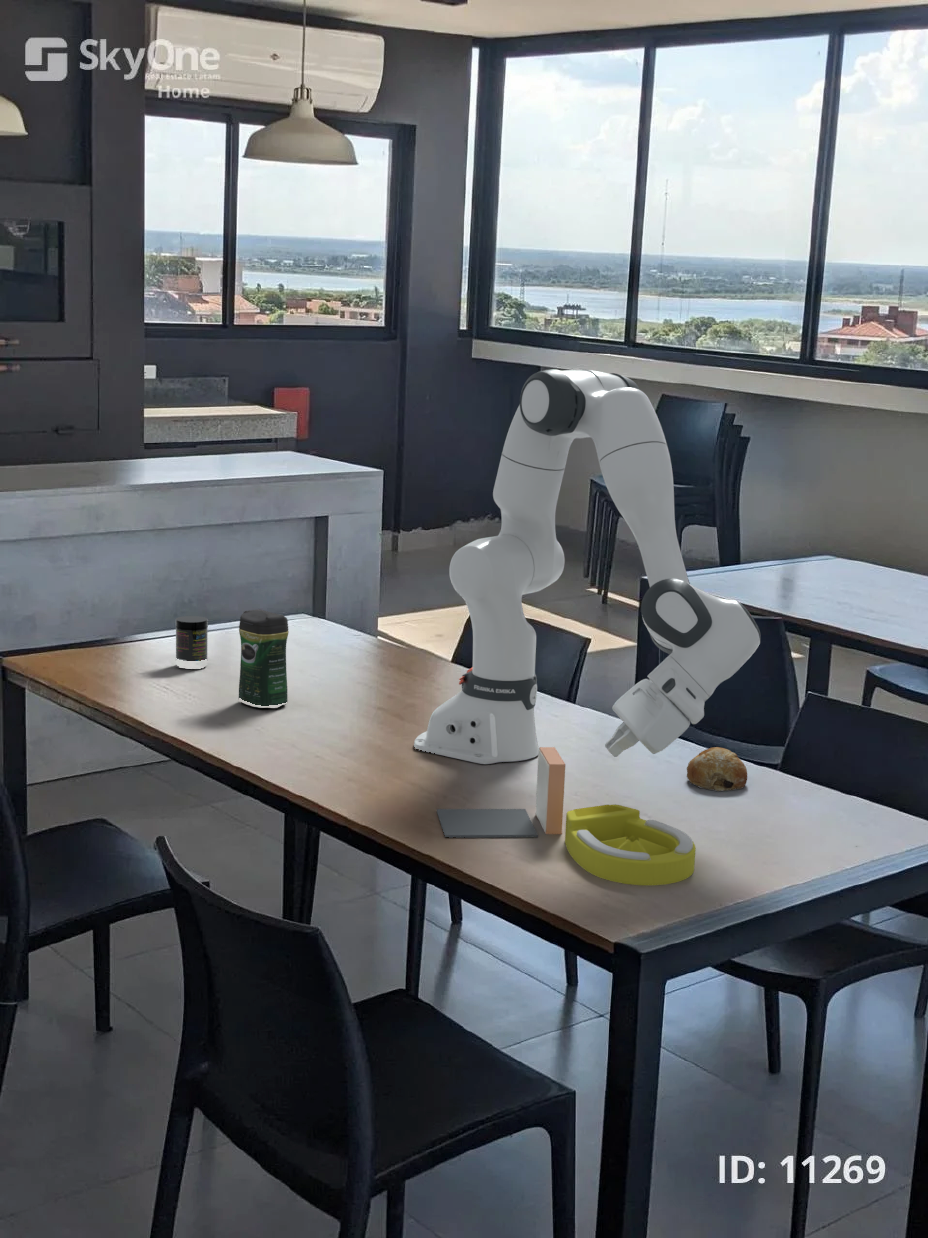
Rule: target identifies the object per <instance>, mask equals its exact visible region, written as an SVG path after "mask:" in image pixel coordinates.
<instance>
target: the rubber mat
mask: <svg viewBox="0 0 928 1238" xmlns="http://www.w3.org/2000/svg"><path fill="white" fill-rule="evenodd" d="M436 814H437V816H438V820H439V823H440V826H441V830H442V829H443V830H442V832H444V833H443V836H444V835H445V836H444V838H445V837H449V838H448V839H451V838H452V839H454V838H453V837H456V838H457V839H460V838H461V839H466V838H468V839H470V838H473V839H476V838H480V839H481V838H482V839H483V838H538V837H539V834H538V832H537V830H536V828H535V826H534V823H533V821H532V820H531V817H530V816H529V813H528V812H527V810H526V808H436ZM464 837H465V838H464ZM456 838H455V839H456Z"/></svg>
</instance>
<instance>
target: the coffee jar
mask: <svg viewBox="0 0 928 1238" xmlns="http://www.w3.org/2000/svg"><path fill="white" fill-rule="evenodd" d="M288 622H289V620H288V617H286V616H285V615H284V614H279V613H275V612H272V611H268V610H263V609H259V608H258V609H251V610H244V611H243V613H242V614H241V615H240V619H239V624H238V631H239V638H240V668H239V682H238V683H239V684H238V699H239V698H241V699H242V700H244V701H247V702H250V703H252V704H255V705H261V706H269V705H278V704H282V703H286V702H287V703H288V701H289V700H288V698H289V697H288V678H287V677H288V676H287V675H288V674H287V672H288V671H287V641H288V637H289V623H288Z"/></svg>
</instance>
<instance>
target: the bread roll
mask: <svg viewBox="0 0 928 1238" xmlns="http://www.w3.org/2000/svg"><path fill="white" fill-rule="evenodd" d="M686 778H687V779H688V780H689V783H690V784H691V785H694V786H696V787H698V788H699V789H704V790H709V791H715V792H727V791H735V790H741V789H743V788H745V786H746V784H747V781H748V770H747V767H746V765H745V764H744V762H743V761H742V760H741V759H740V757H738V754H737V753H735V752H732V751H731V750H730V749H727V748H725V747H720V746H716V747H715V746H714V747H710V748H707V749H704V750H703V751H701V752H699V753H698V754H697V755H695V756H694V757H693V758H692V759H690V760H689V762H688V764H687V767H686Z"/></svg>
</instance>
